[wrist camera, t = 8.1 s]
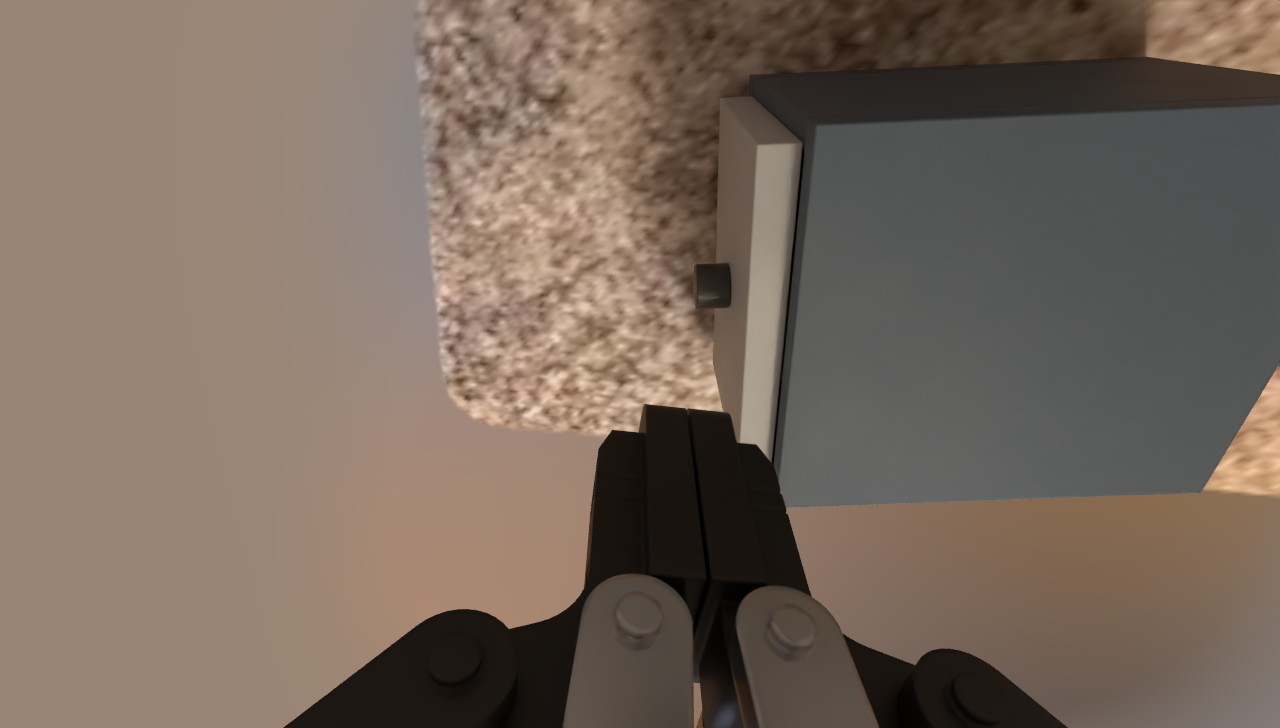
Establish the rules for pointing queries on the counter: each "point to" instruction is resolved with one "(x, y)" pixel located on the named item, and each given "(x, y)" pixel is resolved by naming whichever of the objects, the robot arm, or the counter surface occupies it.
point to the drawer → (752, 264)
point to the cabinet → (1025, 278)
